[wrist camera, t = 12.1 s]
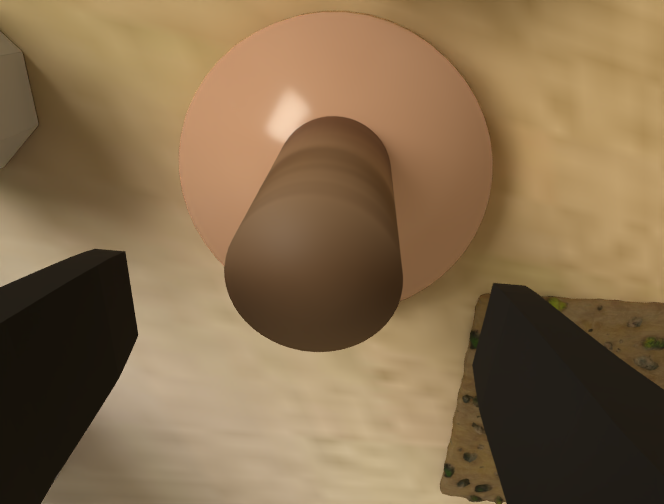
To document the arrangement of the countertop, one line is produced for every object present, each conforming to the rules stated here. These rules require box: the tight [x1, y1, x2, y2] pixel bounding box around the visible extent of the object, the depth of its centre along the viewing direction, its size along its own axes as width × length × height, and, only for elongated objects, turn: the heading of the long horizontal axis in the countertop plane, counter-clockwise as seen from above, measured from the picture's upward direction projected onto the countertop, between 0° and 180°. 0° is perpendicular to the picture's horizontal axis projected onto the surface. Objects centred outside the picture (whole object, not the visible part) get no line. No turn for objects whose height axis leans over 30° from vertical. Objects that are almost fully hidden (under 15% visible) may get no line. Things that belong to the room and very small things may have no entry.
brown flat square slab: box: [440, 294, 664, 504], centre depth 21 cm, size 12×12×1 cm
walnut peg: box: [224, 116, 403, 352], centre depth 13 cm, size 4×4×6 cm
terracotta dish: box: [179, 11, 493, 301], centre depth 16 cm, size 10×10×1 cm
